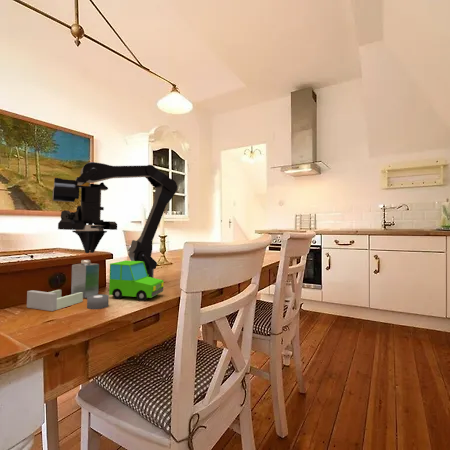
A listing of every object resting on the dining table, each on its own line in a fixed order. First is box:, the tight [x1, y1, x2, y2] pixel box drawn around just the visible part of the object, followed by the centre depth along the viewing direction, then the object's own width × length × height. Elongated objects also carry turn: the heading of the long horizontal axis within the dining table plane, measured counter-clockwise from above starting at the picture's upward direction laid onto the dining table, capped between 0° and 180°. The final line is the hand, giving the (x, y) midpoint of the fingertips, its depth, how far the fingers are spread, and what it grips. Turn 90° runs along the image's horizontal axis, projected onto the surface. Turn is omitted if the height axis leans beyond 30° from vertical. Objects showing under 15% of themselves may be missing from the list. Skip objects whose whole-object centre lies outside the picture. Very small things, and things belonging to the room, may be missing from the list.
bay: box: [26, 289, 84, 312], centre depth 71 cm, size 9×8×4 cm
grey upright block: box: [70, 259, 100, 299], centre depth 80 cm, size 5×5×10 cm
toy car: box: [108, 260, 165, 302], centre depth 81 cm, size 10×13×10 cm
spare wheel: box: [86, 293, 110, 310], centre depth 70 cm, size 5×5×3 cm
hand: (89, 252), depth 86 cm, fingers closed
